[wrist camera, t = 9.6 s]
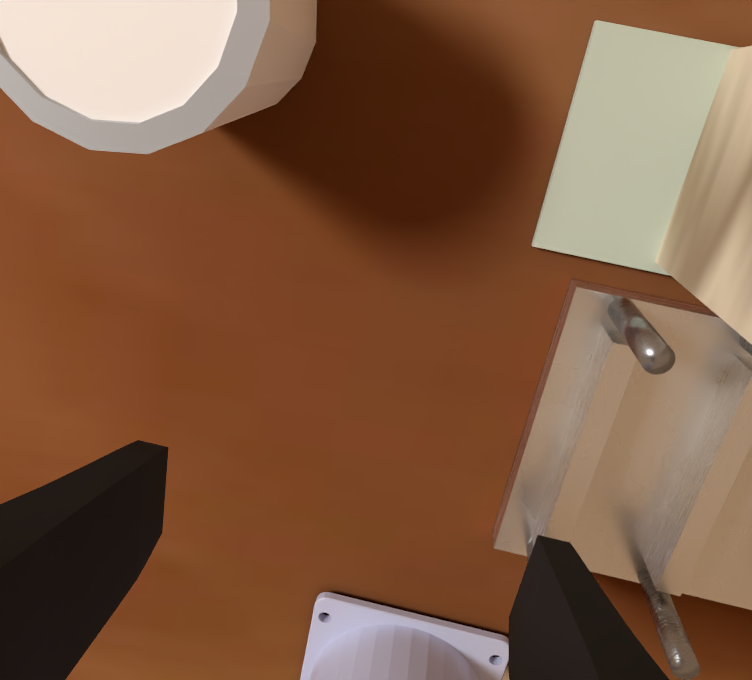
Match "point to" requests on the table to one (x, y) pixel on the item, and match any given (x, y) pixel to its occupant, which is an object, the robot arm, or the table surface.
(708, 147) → the birch block
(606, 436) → the rack
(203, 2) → the white cylinder
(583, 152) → the mat
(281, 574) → the table surface
